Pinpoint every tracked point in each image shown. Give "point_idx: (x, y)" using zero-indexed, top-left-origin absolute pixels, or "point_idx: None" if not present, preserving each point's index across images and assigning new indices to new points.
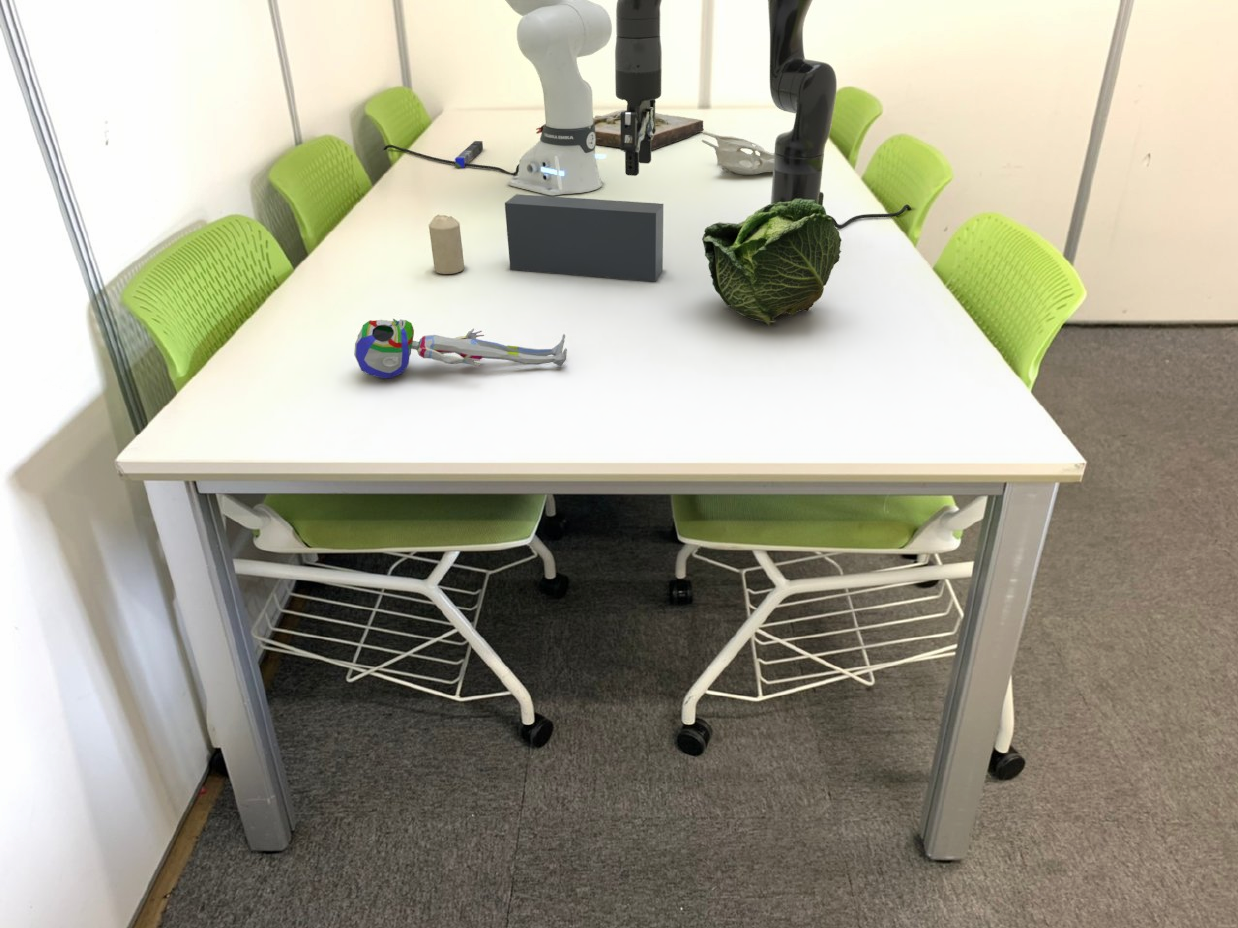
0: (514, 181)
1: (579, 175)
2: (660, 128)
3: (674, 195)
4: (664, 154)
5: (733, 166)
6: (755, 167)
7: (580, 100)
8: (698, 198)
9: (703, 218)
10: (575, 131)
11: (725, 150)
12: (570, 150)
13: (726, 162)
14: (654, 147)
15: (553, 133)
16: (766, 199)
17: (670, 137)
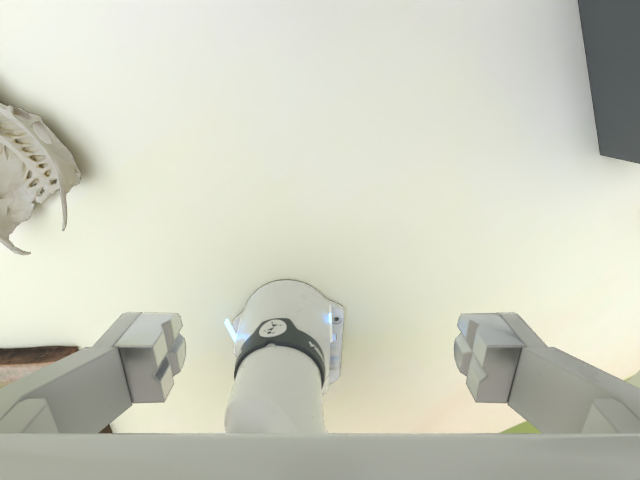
0: (335, 374)
1: (305, 302)
2: (2, 379)
3: (222, 172)
4: (60, 322)
5: (67, 149)
6: (32, 116)
7: (287, 383)
8: (208, 129)
9: (293, 49)
10: (304, 347)
11: (59, 169)
12: (311, 334)
13: (69, 164)
14: (53, 349)
15: (324, 372)
16: (126, 19)
17: (1, 356)
